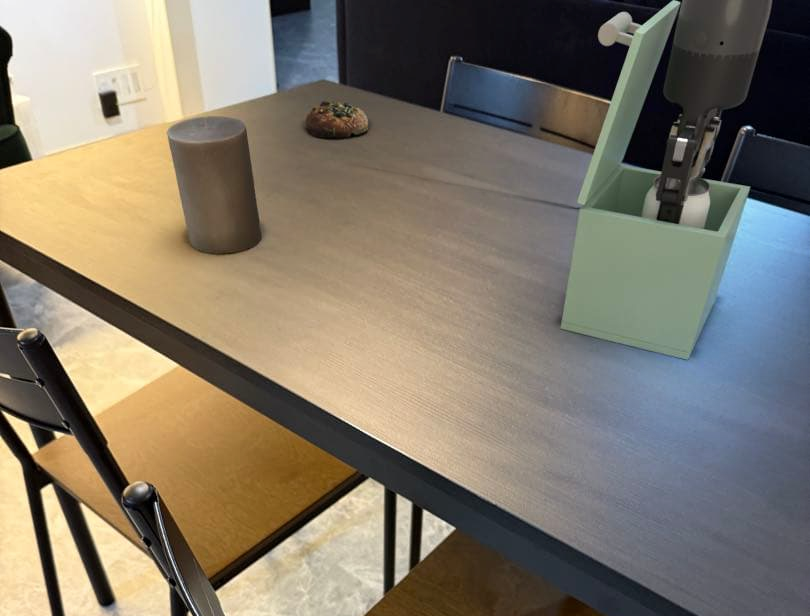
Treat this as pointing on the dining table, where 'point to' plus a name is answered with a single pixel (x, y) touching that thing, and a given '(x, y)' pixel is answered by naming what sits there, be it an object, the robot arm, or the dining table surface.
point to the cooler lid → (627, 89)
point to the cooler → (647, 266)
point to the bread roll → (336, 120)
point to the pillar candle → (215, 183)
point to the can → (692, 209)
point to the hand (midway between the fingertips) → (672, 225)
